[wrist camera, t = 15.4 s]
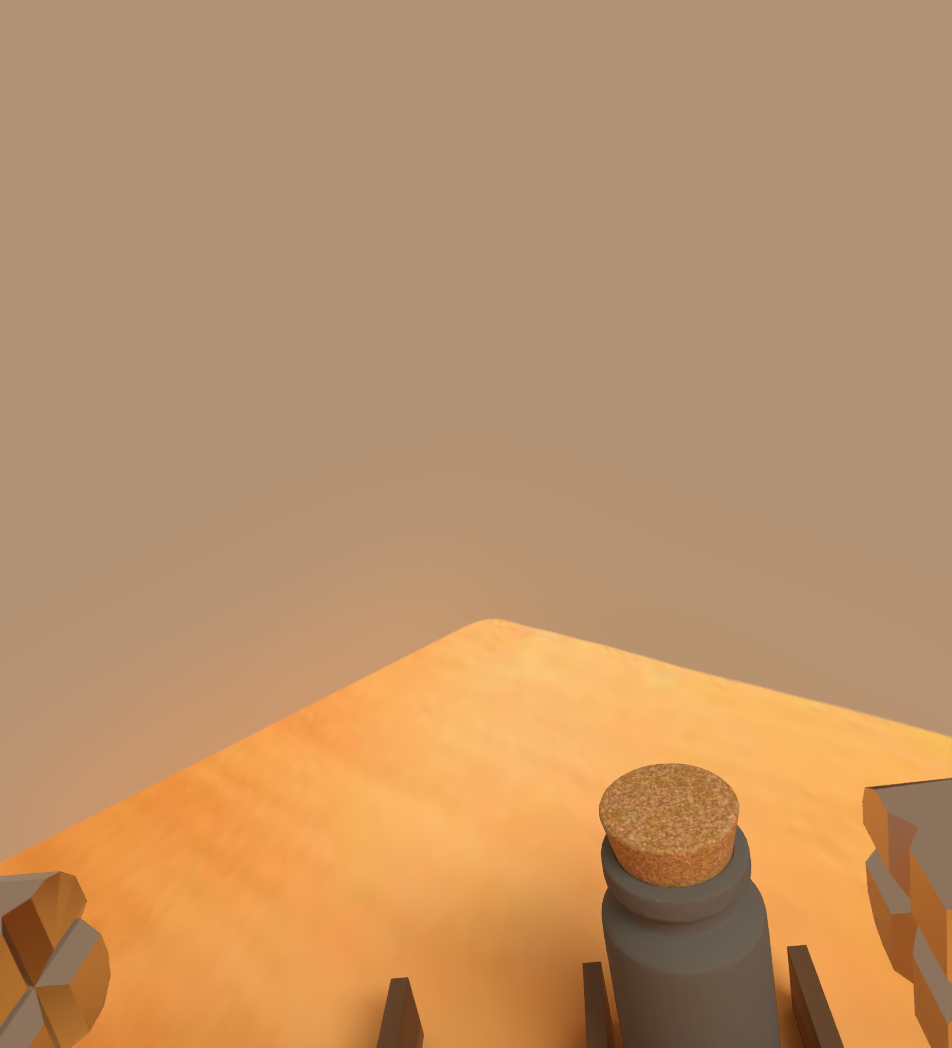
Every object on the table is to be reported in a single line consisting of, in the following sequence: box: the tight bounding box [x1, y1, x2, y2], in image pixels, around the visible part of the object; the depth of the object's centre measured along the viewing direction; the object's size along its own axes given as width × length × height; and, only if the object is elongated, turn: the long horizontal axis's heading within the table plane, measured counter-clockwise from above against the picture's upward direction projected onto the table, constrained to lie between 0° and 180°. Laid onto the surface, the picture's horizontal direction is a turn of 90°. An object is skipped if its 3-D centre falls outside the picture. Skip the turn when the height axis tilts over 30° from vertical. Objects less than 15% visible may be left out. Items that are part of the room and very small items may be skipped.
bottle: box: [599, 764, 781, 1048], centre depth 31 cm, size 6×6×15 cm
